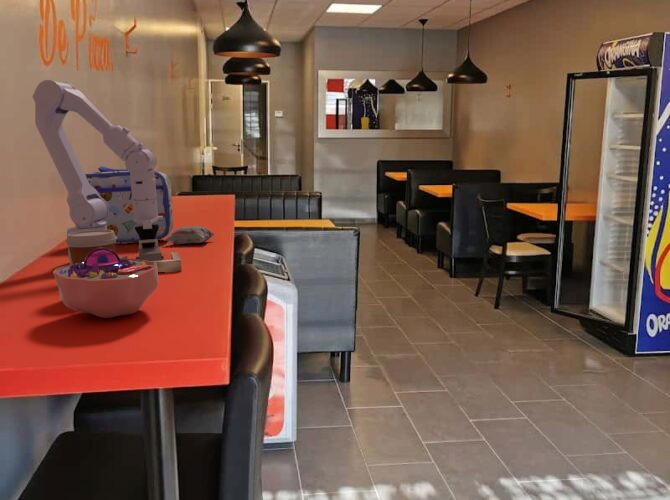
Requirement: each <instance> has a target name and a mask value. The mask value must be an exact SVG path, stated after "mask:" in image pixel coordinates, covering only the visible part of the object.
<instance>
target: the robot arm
mask: <svg viewBox="0 0 670 500" xmlns="http://www.w3.org/2000/svg"><path fill="white" fill-rule="evenodd" d="M32 100H33V101H34V107H35V109H34V110H35V111H34V112H35V114H34V115H35V118H34V121H35V122H34V123H35V126H36V128H37V130H38V132H39V136H40V137H41V138H42V141H43V144H44V145H45V147H46V149H47V152H49V156H50V157H51V159H52V161H53V164H54V165H55V168H56V169H57V171H58V174H59V176H60V178H61V180H62V182H63V184H64V186H65V188H66V190H67V198H66V202H67V205H68V208H69V210H68V211H69V213H68V214H69V218H70V220H71V221H72V222H73V224H75V225H74V226H75V227H68V228H67V229H66V236H67V235H68V234H70V233H73V232H79V231H88V230H107V225H106V221H105V219H106V218H107V216H108V214H109V206H108V204H107V202H106V201H105V200H104V199H102V198H101V197H100V195H99V194H98V191H97V190H96V189H95V188H93V187H92V186H91V185H90V184H89V182H88V180H87V178H86V175H85V174H86V173H85V172H84V169H83V167H82V165H81V163H80V161H79V159H78V157H77V154H76V153H75V151H74V149H73V146H72V144H71V142H70V140H69V138H68V136H67V134H66V132H65V130H64V128H63V126H62V124H63V123H64V120H65V117H66V116H67V114H68V113H69V112H74V113H77V114H78V115H79V116H80V117H82V118H83V119H84V120H85V121H86V122H87V123H88V124H90V125H91V126H92V127H93V128H94V129H96V131H98V132H99V133H100V134H101V135H102V137H103V138H102V141H103V144H105V145H106V146H107V147H108V149H109V150H110V151H112V152H113V153H114V154H115V155H116V156H118V158H120V159H121V160H122V161H123V162H124V165H125V168H126V169H127V170H128V171H129V172H130V177H131V191H132V203H133V215H134V218H133V222H137V223H141V224H143V225H142V226H137V227H135V230H136V232H137V233H138V235H139V238H140V240H150V239H155V238H156V234H157V231H158V229H159V225H158V224H152V223H153V222H155V221H158V220H162V219H163V216H158V210H157V199H156V198H157V197H156V185H155V176H154V171H155V168H156V166H157V162H158V161H157V160H158V159H157V157H156V155H155V153H154V152H153V150H152V149H150V148H146V147H145V148H144V146H145V145H144V143H142V142H139V141H138V140H137V139H136V138H135V137H134V136H132V135H131V134H130V129H129V128H127V127H125V126H124V127H123V126H121V125H113V123H111V122H110V121H109V120H108V119H107V117H106V116H105V115H104V114H103V113H102V112H100V111H99V109H98V108H97V107H96V106H95V105H94V104H93V103H92V102H91V101H90V100H89V98H87V96H85V94H84V93H83V92H81V90H79V89H77V88H76V87H75V85H73V84H72V83H70V82H67V81H66V82H64V81H63V82H61V81H55V80H52V79H45V80H42V81H41V82H40V83H38V84H37V86H36V88H35V90H34V92H33V95H32ZM154 247H156V246H155V242H148V243H142V248H154ZM67 249H68V251H67V256H68V260H69V265H72V264H73V263H72V259H71V255H70V250H69V246H67Z"/></svg>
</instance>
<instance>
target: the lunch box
mask: <svg viewBox="0 0 670 500" xmlns="http://www.w3.org/2000/svg"><path fill="white" fill-rule="evenodd" d="M97 170H98V171H94V172H89V173H85V175H86V178H87V180H88V182H89V184H90V185H91V186H92V187H93V188H95V189H96V190H97V191H98V194H99V195H100V197H101V198H102V199H104V200H105V201H106V202H107V204H108V206H109V214H108V216H107V218H106V219H105V221H106V225H107V230H113V231H114V233H115V236H116V237H117V239H116V242H115V245H128V244H127V243H131V244H137V243H138V244H139V240H140V238H139V235H138V233H137V232H136V230H135V227H137V226H142V225H143V224H141V223H137V222H133V218H134V215H133V203H132V191H131V177H130V172H129V171H128V170H127V168H126V169H123V168H121V169H120V168H118V169H117V168H115V169H114V168H110V167H107V166H106V167H105V166H99V167H98V168H97ZM154 176H155V185H156V197H157V198H156V199H157V210H158V216H163V219H162V220H158V221H155V222H153V223H152V224H158V225H159V229H158V231H157V234H156V238H155V239H158V241H159V240H162V239H165V238H166V237H168V236H170V235H171V234H172V231H173V227H174V219H173V218H174V214H173V199H172V184H171V180H170V178H169V176H168V175H167V174H166V173H165V172H161V171H158V170H157V171H155V170H154Z"/></svg>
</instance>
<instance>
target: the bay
mask: <svg viewBox="0 0 670 500" xmlns="http://www.w3.org/2000/svg"><path fill="white" fill-rule="evenodd" d="M120 258H121V259H129V258H128V256H127V255H125V256H120ZM151 262H156V263H157V268H158V272H165V273H175V272H182V269H183V268H182V259H181V257H180V255H179V253H178V251H176V252H174V251H173V252H170V259H165V260H162V261H151Z"/></svg>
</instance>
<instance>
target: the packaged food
mask: <svg viewBox="0 0 670 500" xmlns="http://www.w3.org/2000/svg"><path fill="white" fill-rule="evenodd" d="M213 236H215V233H214V232H212V231H211V230H210V229H207V227H204V226H193V225H192V226H183V227H178V228H176V229H175V230H173V232H171V233H170V234H169V235H167V238H166V237H165V238H163V241H167V242H170V243H172V244H174V245H180V244H186V245H185V246H193V245H199V244H203V243H205V242H207V241H209V240H210V239H211V238H212V237H213Z"/></svg>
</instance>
